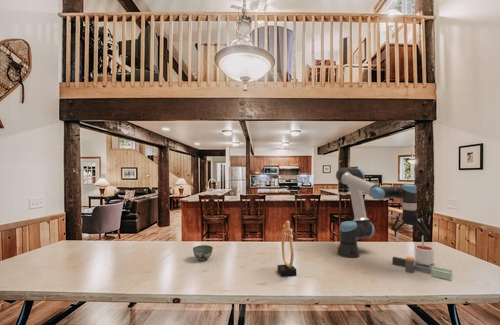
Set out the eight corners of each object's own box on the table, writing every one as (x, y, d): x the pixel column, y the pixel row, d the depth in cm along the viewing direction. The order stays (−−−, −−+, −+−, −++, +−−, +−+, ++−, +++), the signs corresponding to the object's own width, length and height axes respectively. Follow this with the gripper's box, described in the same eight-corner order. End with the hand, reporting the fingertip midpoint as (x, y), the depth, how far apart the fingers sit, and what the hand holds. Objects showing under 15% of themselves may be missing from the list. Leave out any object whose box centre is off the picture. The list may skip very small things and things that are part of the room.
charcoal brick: (392, 264, 171) (392, 257, 171) (393, 263, 173) (393, 256, 173) (406, 267, 165) (406, 260, 165) (407, 266, 168) (407, 259, 168)
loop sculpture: (275, 268, 163) (275, 218, 164) (288, 267, 165) (288, 217, 166) (284, 280, 147) (284, 224, 147) (299, 278, 149) (299, 223, 149)
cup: (436, 266, 168) (436, 250, 168) (419, 264, 170) (419, 249, 170) (429, 260, 177) (428, 246, 178) (412, 259, 179) (412, 245, 180)
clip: (413, 270, 161) (412, 265, 161) (415, 266, 166) (415, 262, 166) (430, 274, 155) (430, 269, 155) (432, 270, 160) (432, 265, 160)
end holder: (431, 276, 152) (431, 269, 152) (433, 272, 158) (433, 265, 158) (450, 280, 146) (450, 273, 146) (452, 276, 151) (452, 269, 152)
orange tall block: (405, 271, 159) (405, 258, 159) (406, 269, 162) (406, 256, 162) (413, 273, 156) (412, 259, 157) (414, 271, 159) (414, 258, 160)
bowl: (188, 261, 175) (188, 249, 175) (199, 255, 188) (199, 244, 188) (206, 264, 170) (206, 252, 170) (216, 257, 183) (216, 246, 183)
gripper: (385, 208, 166) (386, 241, 165) (433, 212, 149) (433, 249, 149) (388, 206, 171) (389, 239, 171) (435, 211, 154) (435, 246, 154)
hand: (409, 244), depth 160 cm, fingers open, 13 cm apart
